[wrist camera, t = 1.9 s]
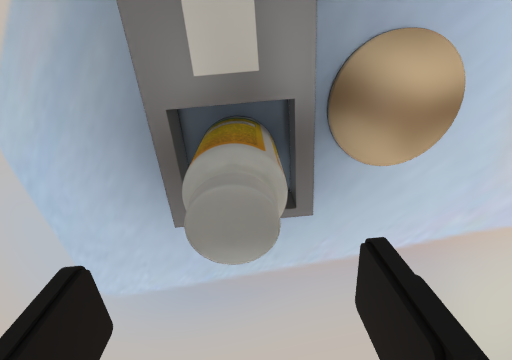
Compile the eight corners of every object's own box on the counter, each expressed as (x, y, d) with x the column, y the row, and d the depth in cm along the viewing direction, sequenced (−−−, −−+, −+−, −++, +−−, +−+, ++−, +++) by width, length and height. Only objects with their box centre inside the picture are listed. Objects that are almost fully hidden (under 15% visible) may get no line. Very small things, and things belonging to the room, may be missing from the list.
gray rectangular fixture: (123, -41, 15) (97, -61, 12) (306, -57, 15) (320, -80, 12) (182, 209, 22) (173, 230, 19) (305, 197, 22) (314, 218, 19)
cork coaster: (330, 34, 17) (333, 34, 16) (474, 22, 17) (482, 21, 16) (325, 167, 21) (327, 171, 20) (441, 157, 21) (447, 160, 20)
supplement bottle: (289, 150, 20) (325, 228, 11) (239, 195, 21) (236, 295, 13) (236, 97, 18) (230, 140, 9) (185, 150, 19) (139, 231, 11)
